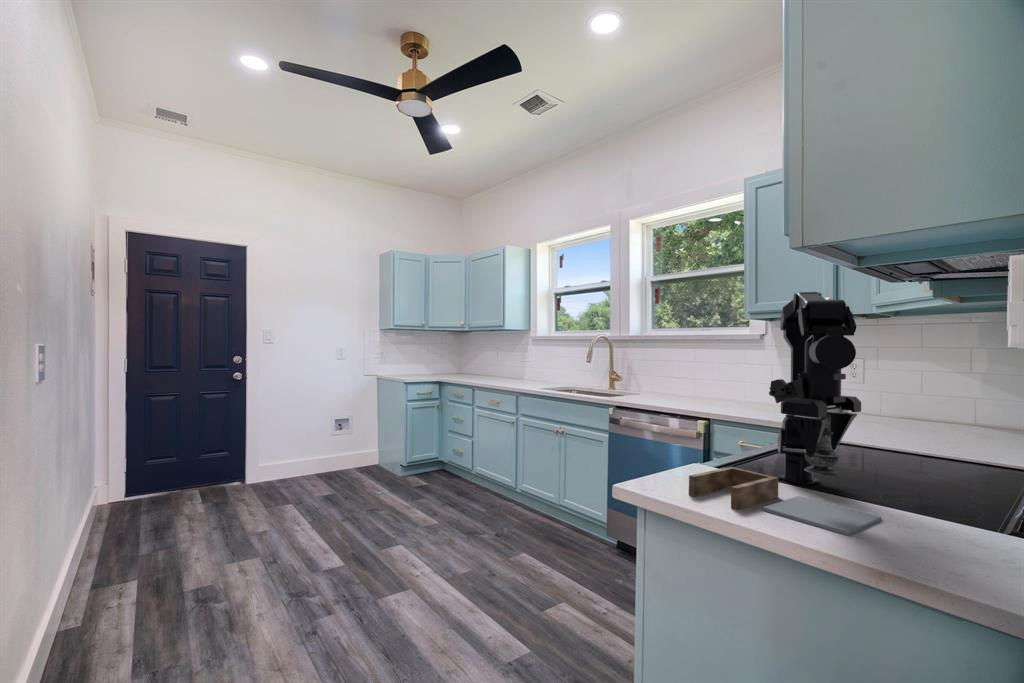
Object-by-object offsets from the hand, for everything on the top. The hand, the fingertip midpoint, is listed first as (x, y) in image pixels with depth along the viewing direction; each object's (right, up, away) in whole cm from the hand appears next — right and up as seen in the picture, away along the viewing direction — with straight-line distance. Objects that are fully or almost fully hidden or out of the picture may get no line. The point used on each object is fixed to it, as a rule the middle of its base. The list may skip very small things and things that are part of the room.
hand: (821, 452), depth 88 cm
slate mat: (0, -12, 0) cm, 12 cm away
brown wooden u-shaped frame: (-12, -11, +10) cm, 19 cm away
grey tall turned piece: (0, -4, 0) cm, 4 cm away
